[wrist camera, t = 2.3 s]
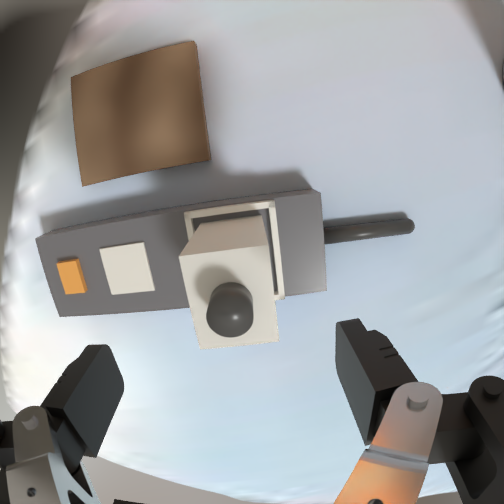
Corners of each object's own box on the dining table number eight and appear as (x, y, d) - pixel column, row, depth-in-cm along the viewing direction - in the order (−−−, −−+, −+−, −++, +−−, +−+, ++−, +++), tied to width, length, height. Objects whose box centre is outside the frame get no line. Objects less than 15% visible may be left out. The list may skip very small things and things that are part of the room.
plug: (261, 214, 20) (270, 255, 12) (270, 285, 22) (282, 359, 14) (201, 223, 20) (171, 268, 12) (213, 292, 22) (196, 367, 14)
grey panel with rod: (409, 181, 22) (429, 185, 19) (409, 263, 24) (426, 277, 21) (51, 230, 23) (31, 240, 20) (72, 304, 25) (56, 320, 22)
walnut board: (196, 46, 19) (194, 40, 18) (211, 160, 22) (209, 160, 20) (78, 80, 19) (70, 77, 18) (89, 184, 22) (82, 186, 21)
